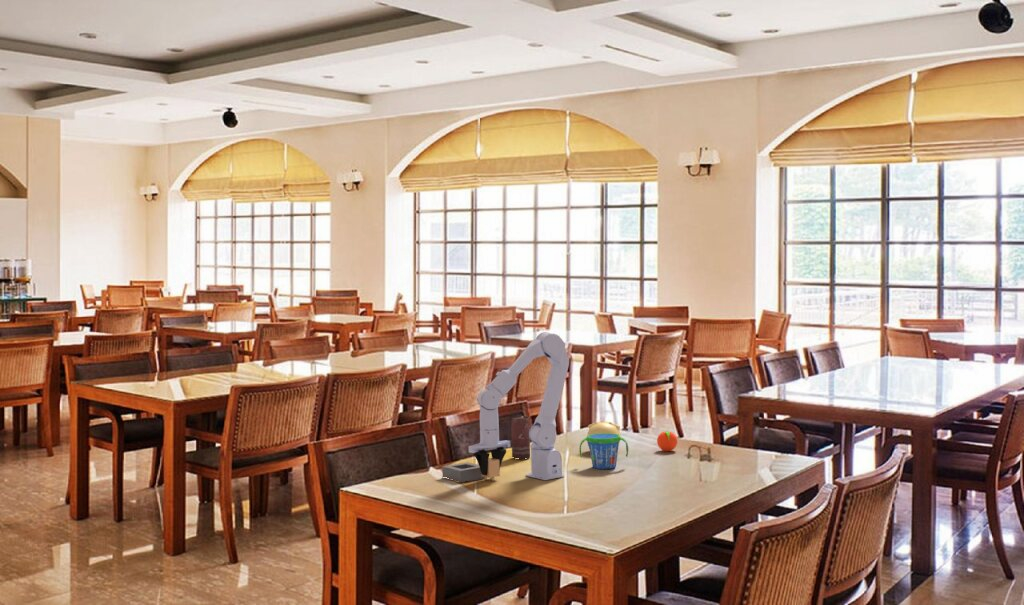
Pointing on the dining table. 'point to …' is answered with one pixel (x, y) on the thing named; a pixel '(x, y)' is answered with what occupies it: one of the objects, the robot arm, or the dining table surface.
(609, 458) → the snack cup
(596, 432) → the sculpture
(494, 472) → the plug
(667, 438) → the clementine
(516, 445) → the can
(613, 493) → the dining table surface
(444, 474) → the socket
